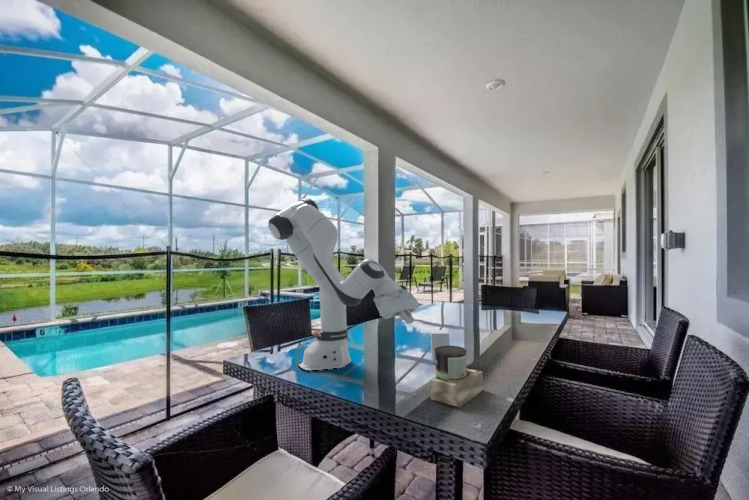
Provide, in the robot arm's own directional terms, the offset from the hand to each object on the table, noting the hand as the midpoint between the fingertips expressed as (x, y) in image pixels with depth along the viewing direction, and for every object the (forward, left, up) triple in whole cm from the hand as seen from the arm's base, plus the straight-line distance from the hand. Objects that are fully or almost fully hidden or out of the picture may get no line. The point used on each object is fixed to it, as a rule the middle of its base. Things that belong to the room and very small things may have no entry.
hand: (411, 322), depth 124 cm
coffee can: (+6, -14, -22) cm, 27 cm away
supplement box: (+24, +15, -22) cm, 35 cm away
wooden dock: (+6, -17, -21) cm, 28 cm away
